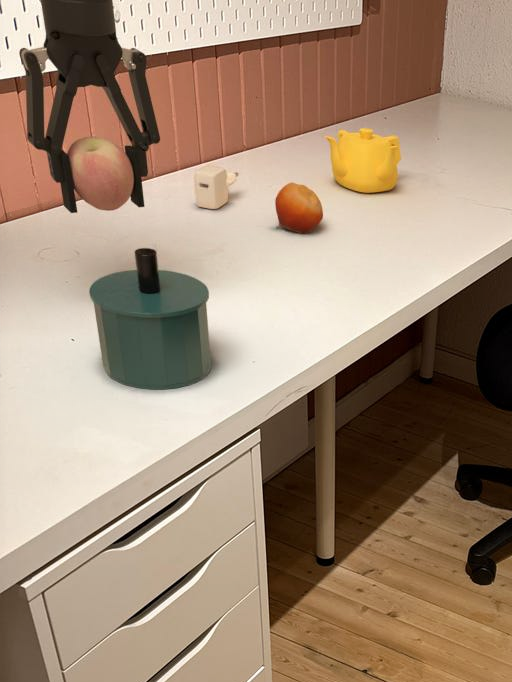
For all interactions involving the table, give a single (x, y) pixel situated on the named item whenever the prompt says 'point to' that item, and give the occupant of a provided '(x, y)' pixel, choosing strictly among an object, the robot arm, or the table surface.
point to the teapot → (365, 160)
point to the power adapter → (212, 186)
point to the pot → (155, 348)
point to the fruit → (298, 208)
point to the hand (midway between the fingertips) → (104, 206)
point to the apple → (101, 172)
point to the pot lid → (148, 290)
